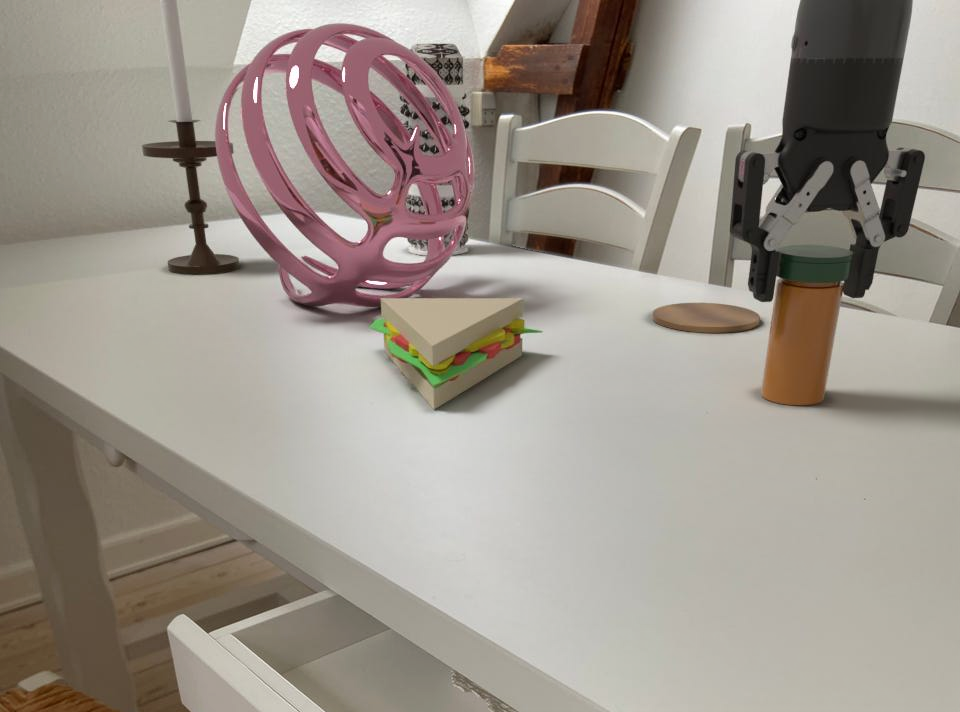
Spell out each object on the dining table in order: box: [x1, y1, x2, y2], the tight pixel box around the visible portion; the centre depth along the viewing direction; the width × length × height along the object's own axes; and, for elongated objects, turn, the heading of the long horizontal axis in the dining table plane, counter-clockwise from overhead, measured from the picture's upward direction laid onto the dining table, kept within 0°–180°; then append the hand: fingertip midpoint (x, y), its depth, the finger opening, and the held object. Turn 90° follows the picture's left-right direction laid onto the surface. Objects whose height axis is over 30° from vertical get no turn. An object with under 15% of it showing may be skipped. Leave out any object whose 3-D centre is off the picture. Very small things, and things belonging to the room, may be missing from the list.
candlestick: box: [141, 0, 241, 275], centre depth 121 cm, size 11×11×35 cm
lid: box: [776, 244, 854, 283], centre depth 77 cm, size 6×6×2 cm
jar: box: [760, 278, 844, 406], centre depth 79 cm, size 5×5×10 cm
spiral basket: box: [214, 22, 476, 308], centre depth 108 cm, size 28×28×27 cm
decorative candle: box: [399, 43, 470, 256], centre depth 134 cm, size 9×9×25 cm
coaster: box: [651, 302, 761, 334], centre depth 105 cm, size 11×11×1 cm
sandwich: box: [369, 297, 543, 410], centre depth 86 cm, size 15×20×5 cm
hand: (808, 297), depth 78 cm, fingers open, 7 cm apart
